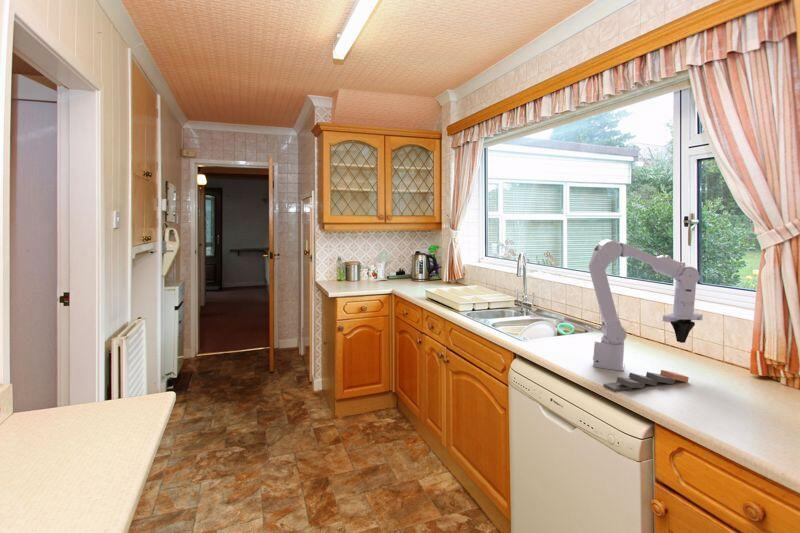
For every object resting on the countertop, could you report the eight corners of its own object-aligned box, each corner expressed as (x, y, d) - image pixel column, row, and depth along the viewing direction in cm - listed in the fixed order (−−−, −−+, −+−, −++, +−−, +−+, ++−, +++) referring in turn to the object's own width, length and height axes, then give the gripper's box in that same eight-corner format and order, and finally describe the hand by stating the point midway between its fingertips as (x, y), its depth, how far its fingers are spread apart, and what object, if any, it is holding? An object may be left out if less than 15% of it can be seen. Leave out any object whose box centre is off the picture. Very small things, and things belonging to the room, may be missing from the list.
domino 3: (656, 386, 134) (640, 382, 131) (644, 381, 138) (628, 377, 136) (657, 381, 134) (642, 377, 131) (645, 376, 138) (629, 372, 136)
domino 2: (643, 388, 132) (629, 387, 128) (630, 383, 136) (616, 381, 132) (645, 383, 132) (630, 382, 128) (631, 378, 136) (617, 376, 132)
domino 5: (687, 382, 137) (673, 379, 135) (674, 377, 141) (660, 374, 139) (688, 377, 137) (674, 374, 135) (675, 372, 141) (661, 369, 139)
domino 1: (632, 391, 131) (614, 394, 129) (621, 386, 136) (603, 388, 134) (633, 386, 131) (614, 388, 129) (621, 381, 136) (603, 383, 133)
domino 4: (673, 384, 135) (658, 381, 133) (660, 379, 140) (645, 376, 137) (675, 379, 135) (659, 376, 133) (662, 374, 140) (646, 371, 137)
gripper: (677, 305, 139) (673, 346, 140) (712, 303, 143) (708, 343, 144) (658, 301, 146) (655, 340, 147) (693, 299, 150) (689, 338, 151)
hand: (680, 342), depth 146 cm, fingers closed
